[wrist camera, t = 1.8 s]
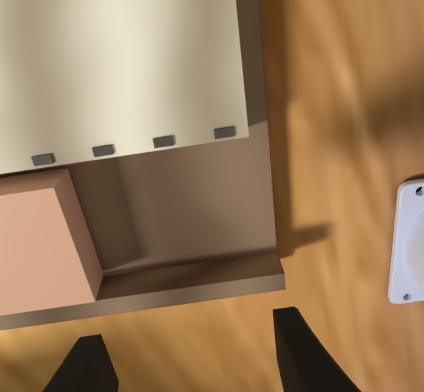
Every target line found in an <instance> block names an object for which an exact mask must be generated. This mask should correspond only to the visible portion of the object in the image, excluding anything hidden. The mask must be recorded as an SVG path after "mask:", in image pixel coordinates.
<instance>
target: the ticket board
mask: <svg viewBox="0 0 424 392" xmlns="http://www.w3.org/2000/svg"><path fill="white" fill-rule="evenodd" d="M64 168H68V171H69V174H70V177H71V180H72V183H73V186H74V189H75V192H76V194H77V197H78V200H79V203H80V206H81V209H82V212H83V215H84V218H85V221H86V224H87V227H88V230H89V233H90V236H91V239H92V242H93V245H94V248H95V251H96V254H97V257H98V260H99V263H100V266H101V269H102V272H103V278H102V281H101V285H100V288H99V291H98V295H97V298H96V301H95V302H91V303H85V304H78V305H71V306H64V307H57V308H50V309H43V310H36V311H29V312H22V313H15V314H8V315H2V316H0V330H7V329H14V328H21V327H28V326H35V325H42V324H49V323H56V322H63V321H70V320H77V319H84V318H91V317H98V316H104V315H111V314H118V313H125V312H132V311H139V310H146V309H153V308H160V307H167V306H174V305H181V304H188V303H195V302H202V301H209V300H216V299H223V298H229V297H236V296H243V295H250V294H257V293H264V292H271V291H278V290H285V289H286V288H285V273H284V270H283V267H282V265H281V262H280V259H279V256H278V253H277V246H276V232H275V218H274V205H273V191H272V177H271V163H270V149H269V136H268V122H267V108H266V94H265V81H264V67H263V53H262V39H261V25H260V12H259V0H0V178H4V177H10V176H17V175H24V174H31V173H37V172H44V171H51V170H57V169H64Z"/></svg>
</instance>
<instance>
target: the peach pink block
mask: <svg viewBox="0 0 424 392" xmlns="http://www.w3.org/2000/svg"><path fill="white" fill-rule="evenodd" d="M102 278H103V272H102V269H101V266H100V263H99V260H98V257H97V254H96V251H95V248H94V245H93V242H92V239H91V236H90V233H89V230H88V227H87V224H86V221H85V218H84V215H83V212H82V209H81V206H80V203H79V200H78V197H77V194H76V192H75V189H74V186H73V183H72V180H71V177H70V174H69V171H68V168H64V169H57V170H51V171H44V172H37V173H31V174H24V175H17V176H10V177H4V178H0V316H2V315H8V314H15V313H22V312H29V311H36V310H43V309H50V308H57V307H64V306H71V305H78V304H85V303H91V302H95V301H96V298H97V295H98V291H99V288H100V285H101V281H102Z"/></svg>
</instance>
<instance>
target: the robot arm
mask: <svg viewBox="0 0 424 392" xmlns="http://www.w3.org/2000/svg"><path fill="white" fill-rule="evenodd" d="M419 187H422V188H421V190H420V191H419V192H416V190H417V189H418V188H419ZM405 294H407V295H405ZM404 295H405V296H404ZM388 298H389V300H390V301H391V302H392V303H393V304H402V303H409V302H416V301H423V300H424V179H418V180H411V181H407V182H404V183H403V184H401V185H400V187H399V189H398V194H397V204H396V215H395V225H394V236H393V246H392V256H391V267H390V277H389V288H388ZM273 319H274V331H275V342H276V354H277V362H278V366H279V371H280V376H281V380H282V385H283V389H284V392H361V391H360V390H359V389H358V388H357V386H356V385H355V384H354V383H353V382H352V381H351V380H350V379H349V377H348V376H347V375H346V374H345V373H344V372H343V370H342V369H341V368H340V367H339V365H338V364H337V363H336V362H335V361H334V359H333V358H332V357H331V356H330V354H329V353H328V352H327V351H326V349H325V348H324V347H323V345H322V344H321V343H320V341H319V340H318V339H317V337H316V336H315V335H314V333H313V332H312V330H311V329H310V327H309V326H308V324H307V323H306V321H305V320H304V318H303V317H302V315H301V313H300V312H299V310H298V309H297V308H295V307H287V308H280V309H273ZM118 384H119V381H118V378H117V376H116V373H115V370H114V368H113V365H112V362H111V360H110V357H109V354H108V352H107V349H106V346H105V344H104V341H103V338H102V336H101V334H99V335H92V336H85V337H80V338H79V339H78V340H77V342H76V343H75V345H74V346H73V348H72V349H71V351H70V352H69V354H68V355H67V357H66V358H65V359H64V361H63V362H62V364H61V365H60V367H59V368H58V370H57V371H56V373H55V374H54V376H53V377H52V379H51V380H50V381H49V383H48V384H47V386H46V387H45V389H44V390H43V391H42V392H118Z"/></svg>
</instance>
